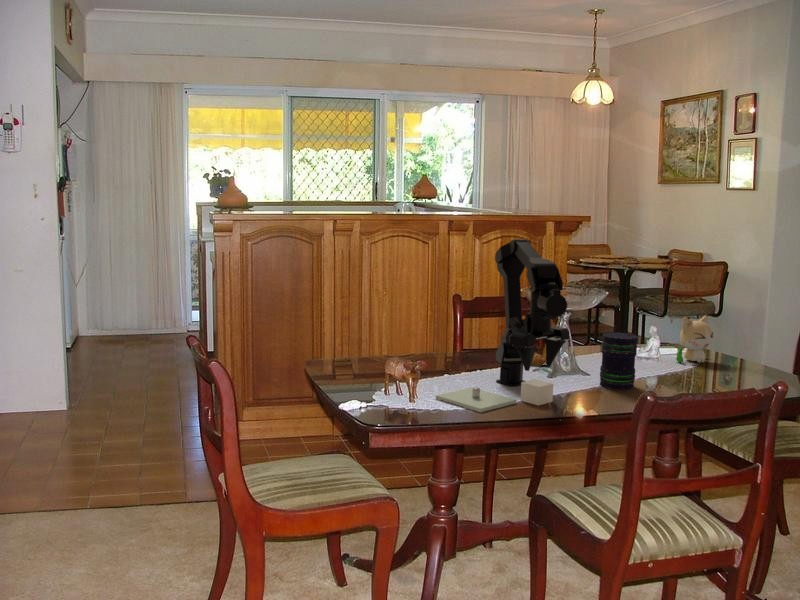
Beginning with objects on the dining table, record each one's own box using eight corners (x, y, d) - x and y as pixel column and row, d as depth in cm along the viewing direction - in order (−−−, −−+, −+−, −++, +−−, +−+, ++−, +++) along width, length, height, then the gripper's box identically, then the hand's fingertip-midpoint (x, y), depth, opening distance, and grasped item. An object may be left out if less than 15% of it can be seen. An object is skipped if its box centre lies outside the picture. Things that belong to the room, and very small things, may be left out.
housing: (534, 397, 229) (535, 379, 228) (552, 401, 224) (553, 383, 224) (520, 400, 225) (521, 382, 224) (538, 405, 220) (539, 386, 220)
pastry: (552, 365, 269) (553, 353, 268) (543, 368, 263) (543, 356, 263) (526, 360, 274) (527, 349, 274) (516, 364, 269) (517, 352, 268)
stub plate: (471, 390, 233) (471, 378, 233) (516, 403, 222) (516, 390, 221) (435, 398, 224) (436, 386, 224) (480, 412, 212) (481, 399, 212)
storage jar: (609, 391, 237) (613, 339, 235) (592, 382, 246) (596, 332, 244) (641, 389, 240) (644, 338, 237) (623, 381, 249) (626, 331, 247)
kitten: (688, 366, 271) (692, 320, 269) (665, 359, 280) (668, 315, 278) (721, 362, 278) (725, 317, 276) (698, 356, 287) (701, 313, 284)
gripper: (538, 302, 233) (535, 358, 235) (494, 309, 220) (491, 367, 223) (571, 308, 225) (568, 365, 227) (527, 315, 212) (524, 375, 215)
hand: (537, 368), depth 223 cm, fingers open, 9 cm apart
